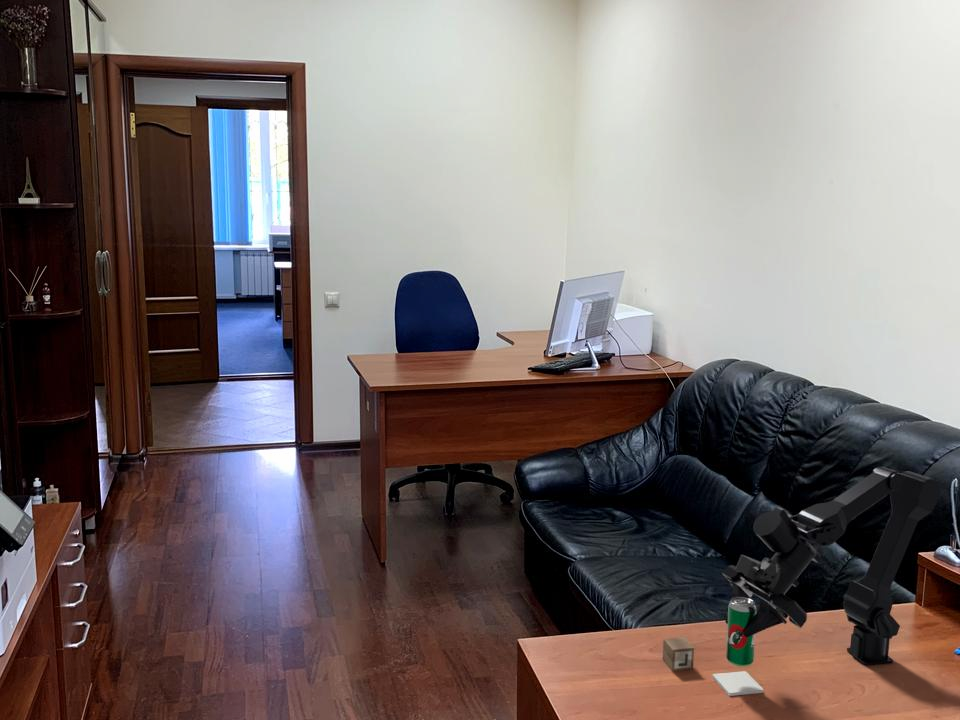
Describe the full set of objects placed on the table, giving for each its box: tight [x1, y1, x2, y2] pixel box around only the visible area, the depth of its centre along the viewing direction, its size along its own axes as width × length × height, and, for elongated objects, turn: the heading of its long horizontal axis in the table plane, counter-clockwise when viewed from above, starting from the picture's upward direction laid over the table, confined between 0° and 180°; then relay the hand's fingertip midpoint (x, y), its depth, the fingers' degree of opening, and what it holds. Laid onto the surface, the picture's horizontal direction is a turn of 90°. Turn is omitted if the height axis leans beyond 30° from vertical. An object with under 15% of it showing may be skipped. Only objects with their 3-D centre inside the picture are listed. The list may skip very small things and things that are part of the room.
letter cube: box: [662, 636, 695, 672], centre depth 175 cm, size 4×5×4 cm
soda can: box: [725, 597, 757, 667], centre depth 166 cm, size 5×5×12 cm
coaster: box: [711, 670, 765, 697], centre depth 167 cm, size 7×7×1 cm
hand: (735, 629), depth 165 cm, fingers closed on soda can, 5 cm apart
